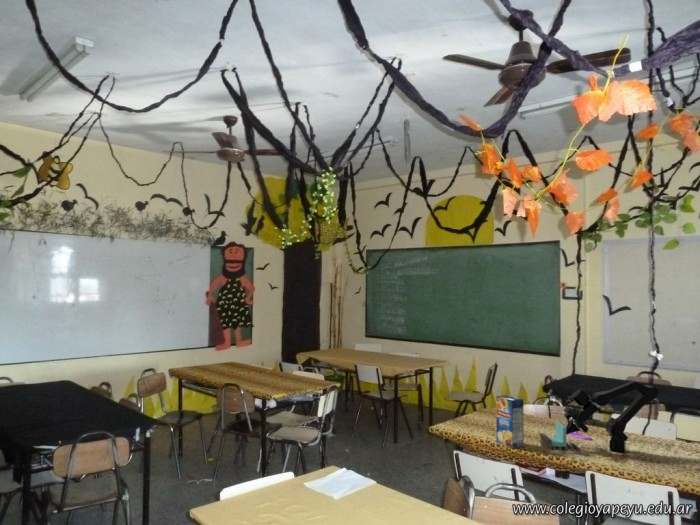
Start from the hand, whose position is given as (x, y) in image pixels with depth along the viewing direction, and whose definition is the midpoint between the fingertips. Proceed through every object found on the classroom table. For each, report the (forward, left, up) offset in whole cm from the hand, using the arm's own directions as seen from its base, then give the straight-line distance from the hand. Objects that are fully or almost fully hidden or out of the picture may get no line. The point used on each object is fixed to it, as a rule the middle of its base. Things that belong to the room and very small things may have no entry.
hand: (563, 434), depth 259 cm
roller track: (+1, +1, -7) cm, 8 cm away
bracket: (0, -29, -8) cm, 30 cm away
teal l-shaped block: (+3, +2, -5) cm, 6 cm away
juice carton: (+24, +11, -8) cm, 27 cm away
